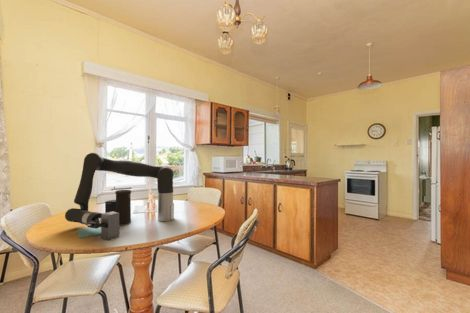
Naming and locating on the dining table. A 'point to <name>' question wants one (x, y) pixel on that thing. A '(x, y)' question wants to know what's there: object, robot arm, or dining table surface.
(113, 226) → the gray rectangular block
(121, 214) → the container
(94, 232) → the teal board
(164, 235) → the dining table surface
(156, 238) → the dining table surface
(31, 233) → the dining table surface
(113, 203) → the small box
